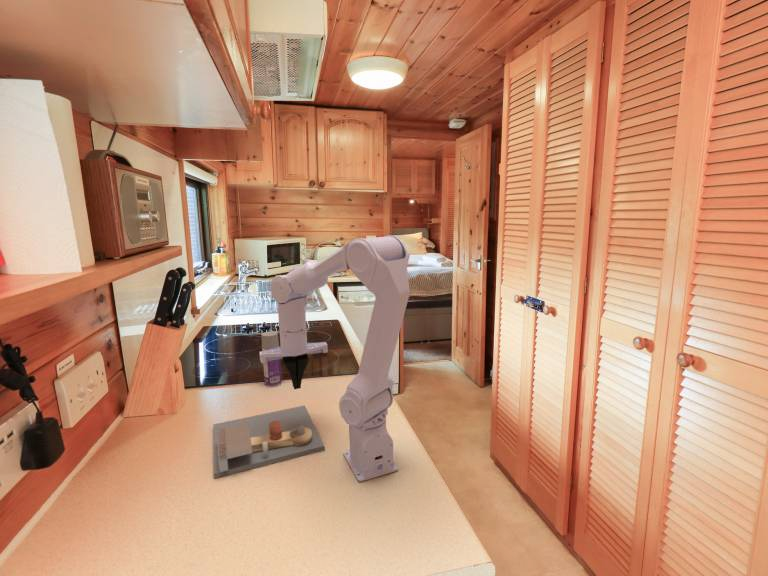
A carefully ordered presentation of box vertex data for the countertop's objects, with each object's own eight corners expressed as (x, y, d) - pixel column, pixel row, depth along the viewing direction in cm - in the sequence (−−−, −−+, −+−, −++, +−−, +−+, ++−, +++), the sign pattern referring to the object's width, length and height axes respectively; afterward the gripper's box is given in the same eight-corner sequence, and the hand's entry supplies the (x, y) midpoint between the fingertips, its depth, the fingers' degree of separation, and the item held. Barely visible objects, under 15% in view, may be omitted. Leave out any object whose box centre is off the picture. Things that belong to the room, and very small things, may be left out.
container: (284, 380, 116) (280, 331, 113) (278, 387, 111) (274, 336, 108) (268, 379, 116) (264, 331, 113) (262, 386, 111) (258, 336, 109)
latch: (310, 431, 86) (309, 413, 85) (313, 443, 82) (312, 423, 81) (236, 444, 82) (234, 424, 81) (234, 457, 77) (232, 436, 76)
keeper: (253, 468, 76) (251, 448, 75) (220, 477, 73) (218, 456, 73) (249, 441, 85) (247, 423, 84) (219, 448, 82) (217, 429, 82)
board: (324, 450, 81) (323, 432, 80) (214, 478, 73) (212, 459, 72) (304, 409, 98) (303, 394, 98) (213, 428, 90) (211, 412, 89)
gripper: (320, 320, 92) (323, 374, 94) (256, 328, 86) (261, 386, 89) (329, 327, 86) (331, 386, 88) (259, 337, 80) (264, 399, 83)
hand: (296, 387), depth 88 cm, fingers closed
